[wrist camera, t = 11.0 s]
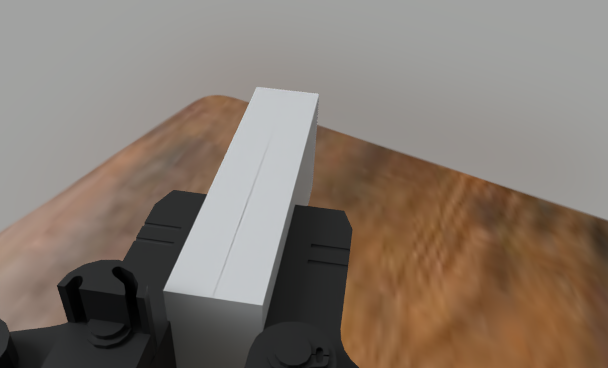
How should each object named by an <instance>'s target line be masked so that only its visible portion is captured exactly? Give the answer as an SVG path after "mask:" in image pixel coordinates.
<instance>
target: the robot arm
mask: <svg viewBox="0 0 608 368" xmlns="http://www.w3.org/2000/svg"><path fill="white" fill-rule="evenodd" d="M318 102H319V94H315V93H305V92H296V91H288V90H280V89H271V88H262V87H257V88H256V90H255V92H254V94H253V97H252V99H251V101H250V103H249V105H248V107H247V109H246V112H245V114H244V116H243V118H242V120H241V123H240V125H239V127H238V129H237V131H236V133H235V136H234V138H233V140H232V142H231V144H230V146H229V149H228V151H227V153H226V155H225V157H224V159H223V162H222V164H221V166H220V168H219V170H218V173H217V175H216V177H215V179H214V181H213V183H212V186H211V188H210V190H209V192H208V194H200V193H192V192H185V191H177V190H173V191H172V192H170V193H169V194H168V195H166V196H165V197H164V198H163V199H161V200H160V201H159V202H157V203H156V204H155V205H154V207H153V209H152V210H151V212H150V214H149V216H148V217H147V219H146V221H145V225H144V226H142V228H141V230H140V232H139V233H138V235H137V237H136V241H134V242H133V244H132V246H131V247H130V249H129V251H128V253H127V255H126V256H125V258H124V260H123V261H120V260H99V261H96V262H92V263H88V264H84V265H82V266H81V267H79V268H77V269H75V270H73V271H72V272H70V273H68V274H67V275H66V276H65V277H64V278H63V279H62V281H61V282H60V283H59V284H58V285H57V287H58V291H59V294H60V297H61V300H62V304H63V307H64V310H65V313H66V317H67V320H68V322H67V323H65V324H61V325H57V326H52V327H46V328H38V329H29V330H21V331H13V332H9V330H8V327H7V325H6V323H5V322H4V321H2V320H1V319H0V368H359V367H358V366H357V365H356V364H355V363H354V362H353V361H352V360H351V359H350V358H349V356H348V355H347V353H346V352H345V350H344V347H343V344H342V341H341V330H340V328H341V320H342V312H343V303H344V295H345V287H346V279H347V270H348V262H349V254H350V246H351V237H352V227H351V225H350V223H349V221H348V218H347V216H346V214H345V212H344V211H341V210H333V209H325V208H318V207H310V206H308V203H309V198H310V194H311V189H312V184H313V170H314V157H315V143H316V129H317V115H318Z"/></svg>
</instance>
